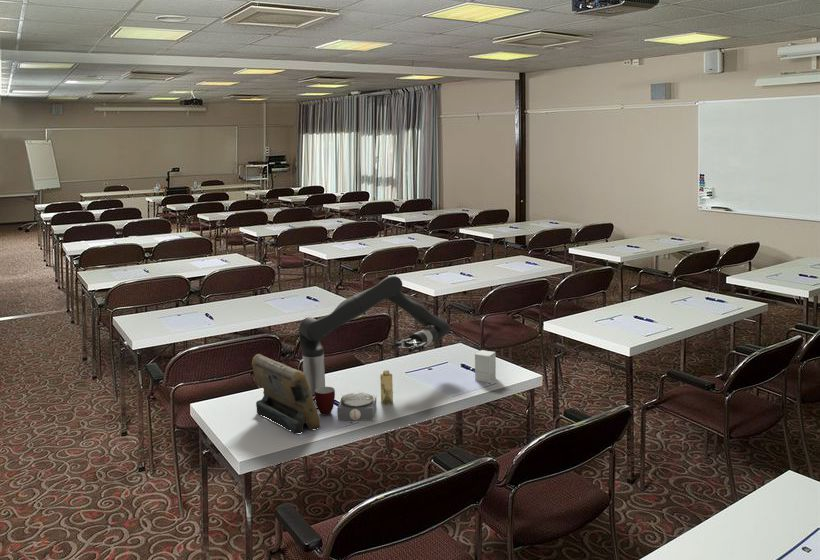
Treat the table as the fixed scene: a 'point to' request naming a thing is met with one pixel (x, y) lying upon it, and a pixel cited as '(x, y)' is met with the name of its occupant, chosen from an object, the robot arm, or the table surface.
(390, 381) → the calibration weight
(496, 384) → the table surface
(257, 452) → the table surface
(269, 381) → the tablet
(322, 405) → the mug
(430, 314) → the robot arm
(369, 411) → the scale housing
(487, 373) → the supplement box
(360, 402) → the scale platter
